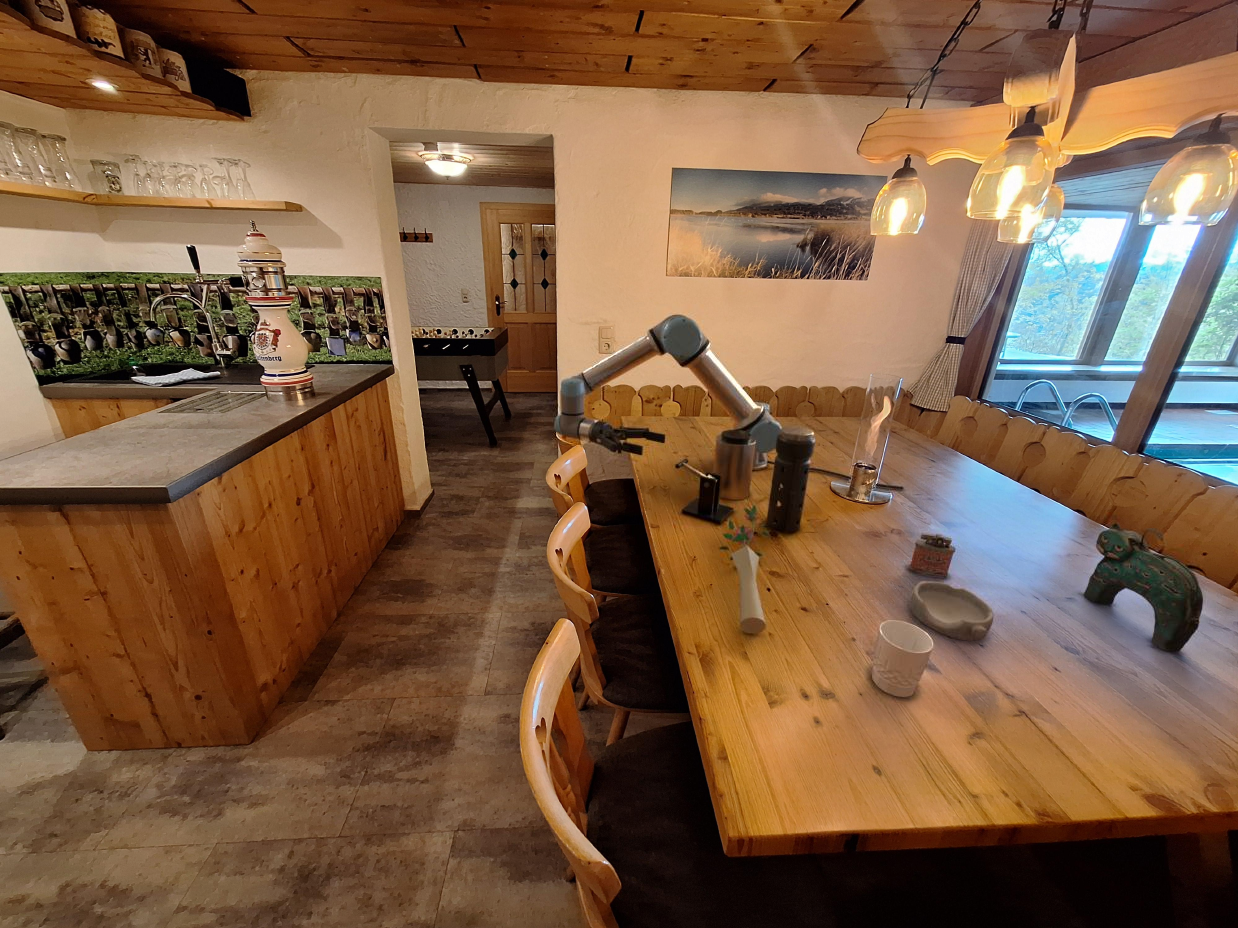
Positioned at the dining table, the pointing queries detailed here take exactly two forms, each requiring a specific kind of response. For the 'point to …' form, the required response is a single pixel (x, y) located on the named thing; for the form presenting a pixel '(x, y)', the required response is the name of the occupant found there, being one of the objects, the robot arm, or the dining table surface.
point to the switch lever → (691, 468)
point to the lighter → (932, 556)
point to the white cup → (900, 657)
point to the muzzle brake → (790, 478)
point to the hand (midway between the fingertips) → (653, 444)
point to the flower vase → (747, 575)
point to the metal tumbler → (734, 463)
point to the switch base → (709, 501)
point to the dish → (951, 610)
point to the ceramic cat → (1148, 584)
